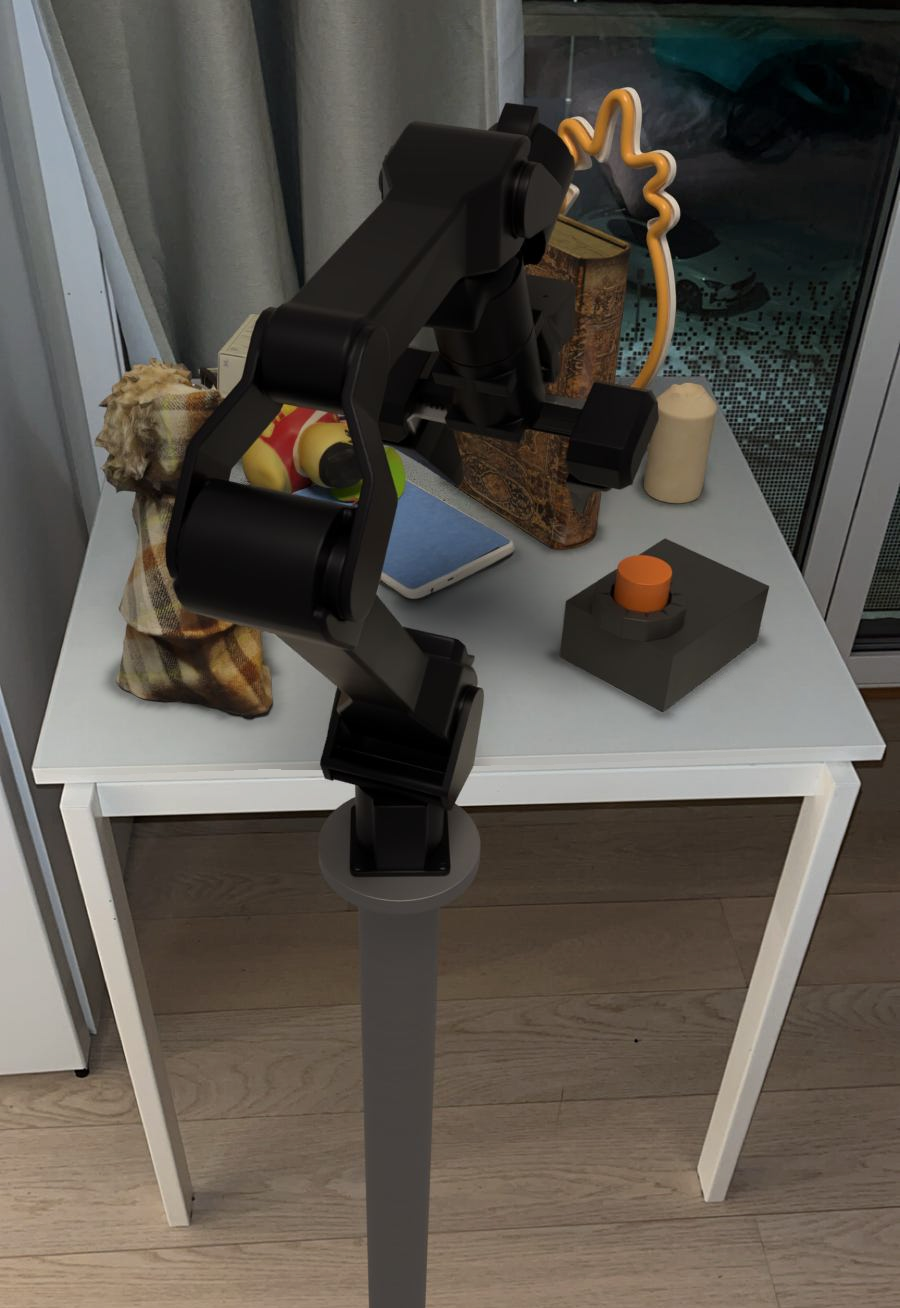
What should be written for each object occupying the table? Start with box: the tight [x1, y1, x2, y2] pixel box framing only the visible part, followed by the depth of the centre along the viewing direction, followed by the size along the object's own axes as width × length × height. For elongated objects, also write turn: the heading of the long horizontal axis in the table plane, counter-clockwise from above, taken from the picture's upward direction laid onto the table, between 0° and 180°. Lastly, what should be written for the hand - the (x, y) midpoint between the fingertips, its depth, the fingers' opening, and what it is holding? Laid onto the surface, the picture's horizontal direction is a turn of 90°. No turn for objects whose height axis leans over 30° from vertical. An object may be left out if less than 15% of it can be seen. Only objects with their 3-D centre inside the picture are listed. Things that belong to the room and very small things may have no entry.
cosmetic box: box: [216, 313, 260, 398], centre depth 123 cm, size 6×4×12 cm
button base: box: [559, 537, 770, 713], centre depth 100 cm, size 14×10×7 cm
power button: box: [614, 554, 672, 612], centre depth 95 cm, size 4×4×2 cm
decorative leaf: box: [330, 446, 407, 506], centre depth 117 cm, size 8×9×1 cm
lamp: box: [557, 86, 681, 390], centre depth 117 cm, size 17×9×32 cm, turn 42°
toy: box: [241, 404, 362, 494], centre depth 114 cm, size 9×11×10 cm
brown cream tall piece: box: [93, 357, 273, 718], centre depth 91 cm, size 14×14×25 cm
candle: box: [643, 382, 718, 504], centre depth 118 cm, size 6×6×10 cm
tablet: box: [292, 478, 516, 600], centre depth 113 cm, size 19×13×1 cm, turn 43°
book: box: [454, 214, 632, 550], centre depth 110 cm, size 16×6×25 cm, turn 39°
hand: (520, 494), depth 88 cm, fingers open, 9 cm apart
